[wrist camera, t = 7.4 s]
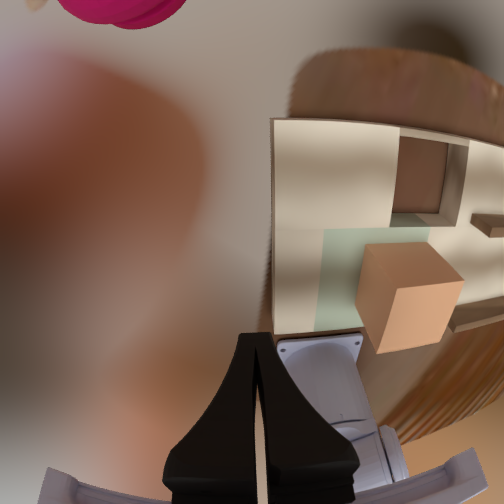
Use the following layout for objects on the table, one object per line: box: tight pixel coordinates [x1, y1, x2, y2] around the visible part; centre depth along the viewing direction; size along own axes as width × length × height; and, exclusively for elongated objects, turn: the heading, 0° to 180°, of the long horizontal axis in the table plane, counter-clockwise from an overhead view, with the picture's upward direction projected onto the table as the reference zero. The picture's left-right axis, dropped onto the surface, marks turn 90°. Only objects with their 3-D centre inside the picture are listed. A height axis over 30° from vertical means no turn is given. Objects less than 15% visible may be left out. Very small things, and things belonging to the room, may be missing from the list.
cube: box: [355, 242, 465, 354], centre depth 17 cm, size 5×5×5 cm
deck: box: [270, 118, 504, 334], centre depth 19 cm, size 15×26×2 cm, turn 92°
